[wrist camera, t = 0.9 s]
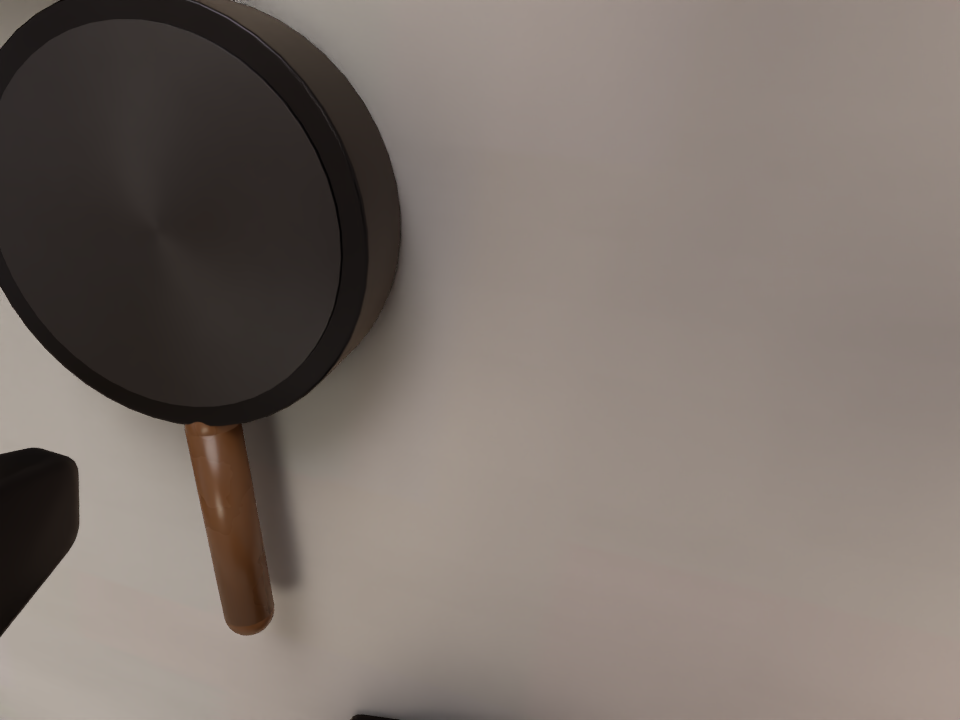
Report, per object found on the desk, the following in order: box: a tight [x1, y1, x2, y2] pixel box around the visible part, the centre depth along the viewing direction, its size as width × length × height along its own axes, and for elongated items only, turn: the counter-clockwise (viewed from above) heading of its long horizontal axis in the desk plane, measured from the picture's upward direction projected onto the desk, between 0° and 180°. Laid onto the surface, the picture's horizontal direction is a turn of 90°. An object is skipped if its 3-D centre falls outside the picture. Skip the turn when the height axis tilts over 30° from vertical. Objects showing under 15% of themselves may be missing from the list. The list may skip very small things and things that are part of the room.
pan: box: [0, 0, 401, 636], centre depth 19 cm, size 17×10×2 cm, turn 3°
